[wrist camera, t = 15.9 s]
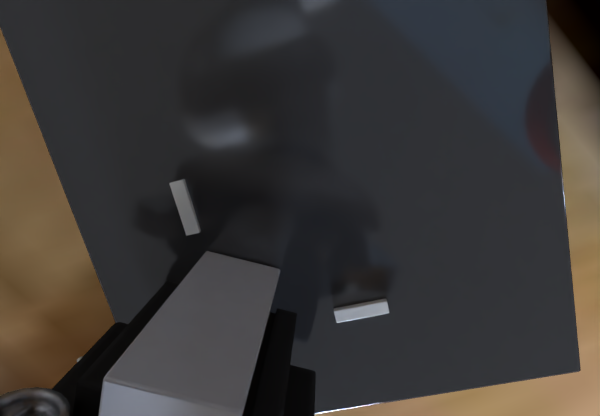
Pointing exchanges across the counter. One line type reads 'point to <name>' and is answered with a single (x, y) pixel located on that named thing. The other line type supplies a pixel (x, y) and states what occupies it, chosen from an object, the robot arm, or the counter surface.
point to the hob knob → (197, 345)
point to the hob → (323, 172)
